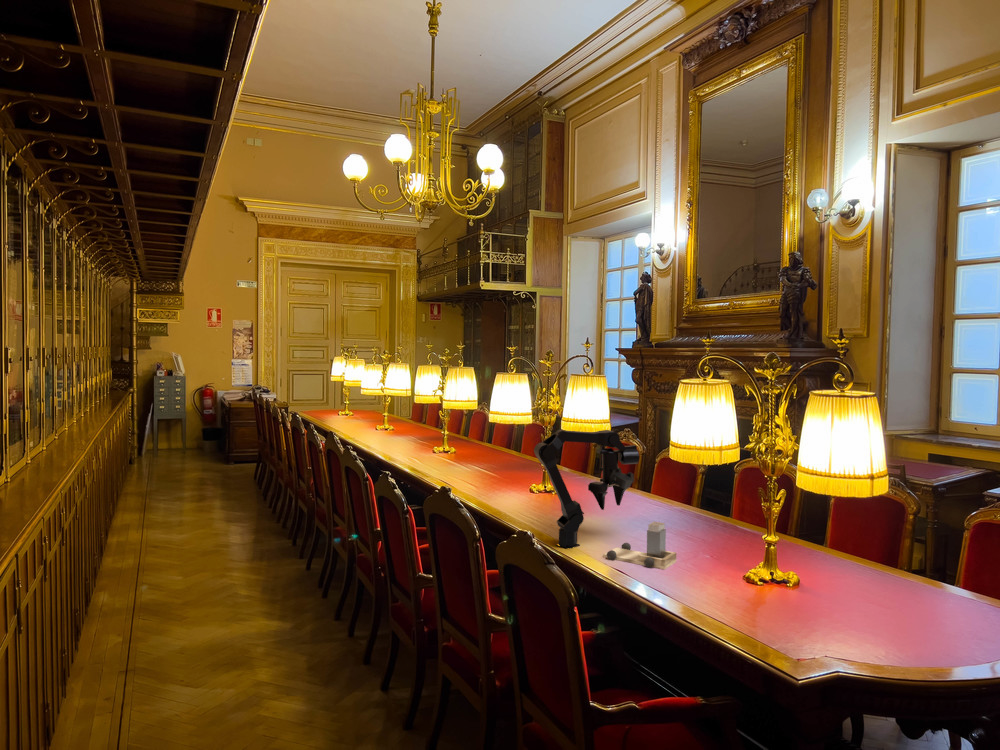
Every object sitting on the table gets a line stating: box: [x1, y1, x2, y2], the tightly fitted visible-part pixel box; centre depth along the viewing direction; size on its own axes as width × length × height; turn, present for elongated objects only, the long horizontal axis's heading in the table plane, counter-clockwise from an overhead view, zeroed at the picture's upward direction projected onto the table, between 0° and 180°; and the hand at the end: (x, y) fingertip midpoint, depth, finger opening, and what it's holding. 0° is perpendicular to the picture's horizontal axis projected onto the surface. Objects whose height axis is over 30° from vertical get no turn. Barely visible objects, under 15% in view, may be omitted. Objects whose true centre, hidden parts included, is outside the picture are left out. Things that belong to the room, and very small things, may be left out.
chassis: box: [602, 542, 677, 570], centre depth 229 cm, size 22×13×3 cm, turn 54°
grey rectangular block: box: [646, 521, 667, 559], centre depth 225 cm, size 4×5×12 cm
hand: (610, 507), depth 248 cm, fingers open, 9 cm apart
